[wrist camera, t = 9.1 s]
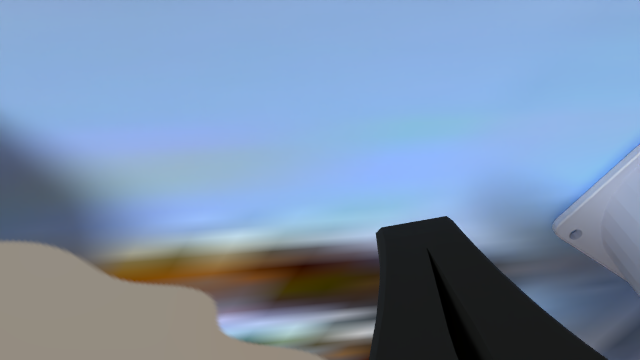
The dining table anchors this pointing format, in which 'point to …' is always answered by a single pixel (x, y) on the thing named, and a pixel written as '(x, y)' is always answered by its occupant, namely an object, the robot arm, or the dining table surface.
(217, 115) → the dining table surface
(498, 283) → the robot arm
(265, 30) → the dining table surface
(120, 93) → the dining table surface
